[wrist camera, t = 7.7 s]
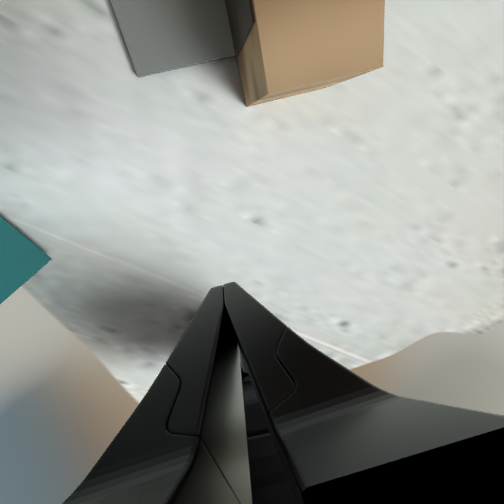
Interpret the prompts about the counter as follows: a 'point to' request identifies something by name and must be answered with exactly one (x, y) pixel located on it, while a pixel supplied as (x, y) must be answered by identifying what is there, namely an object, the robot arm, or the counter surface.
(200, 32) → the mat
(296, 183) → the counter surface
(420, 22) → the counter surface
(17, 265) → the teal l-shaped bracket
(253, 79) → the brown box
